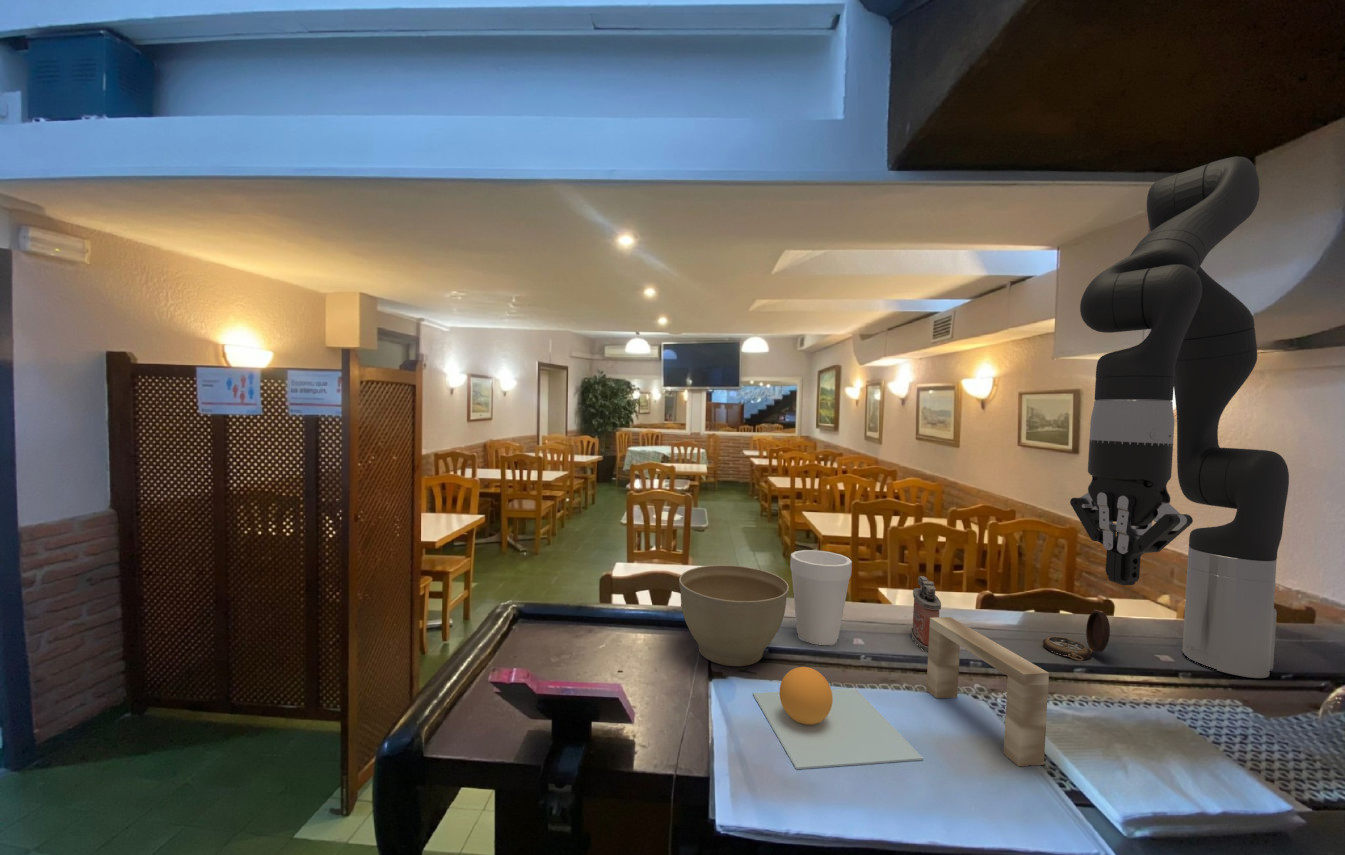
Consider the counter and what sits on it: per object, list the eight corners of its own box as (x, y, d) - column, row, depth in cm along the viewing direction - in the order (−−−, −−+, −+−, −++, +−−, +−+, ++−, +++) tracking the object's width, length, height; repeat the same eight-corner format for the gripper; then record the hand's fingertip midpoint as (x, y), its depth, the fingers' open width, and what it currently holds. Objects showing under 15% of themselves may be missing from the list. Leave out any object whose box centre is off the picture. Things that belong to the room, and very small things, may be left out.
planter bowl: (654, 650, 78) (656, 578, 77) (721, 622, 89) (724, 559, 89) (741, 693, 66) (745, 609, 66) (806, 655, 78) (809, 583, 78)
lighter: (943, 654, 80) (946, 589, 80) (919, 651, 81) (922, 587, 80) (928, 633, 88) (931, 574, 88) (907, 631, 89) (910, 572, 88)
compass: (1036, 640, 87) (1039, 597, 87) (1094, 650, 84) (1097, 605, 84) (1052, 661, 79) (1054, 613, 79) (1116, 672, 77) (1119, 623, 76)
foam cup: (848, 631, 87) (851, 554, 87) (847, 654, 79) (851, 569, 78) (790, 622, 90) (793, 547, 90) (783, 643, 82) (787, 561, 81)
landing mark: (855, 689, 68) (855, 688, 68) (923, 760, 55) (923, 758, 55) (752, 694, 66) (752, 693, 66) (796, 769, 52) (796, 767, 52)
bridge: (946, 689, 69) (950, 617, 69) (1043, 764, 55) (1049, 673, 54) (926, 690, 69) (929, 617, 69) (1018, 766, 54) (1023, 674, 54)
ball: (828, 686, 64) (801, 648, 64) (851, 712, 58) (822, 670, 58) (790, 717, 64) (763, 679, 63) (809, 747, 58) (780, 704, 57)
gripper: (1222, 443, 56) (1212, 602, 57) (1102, 437, 69) (1095, 566, 70) (1163, 441, 55) (1154, 603, 55) (1053, 435, 68) (1046, 567, 69)
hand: (1121, 582), depth 63 cm, fingers closed
